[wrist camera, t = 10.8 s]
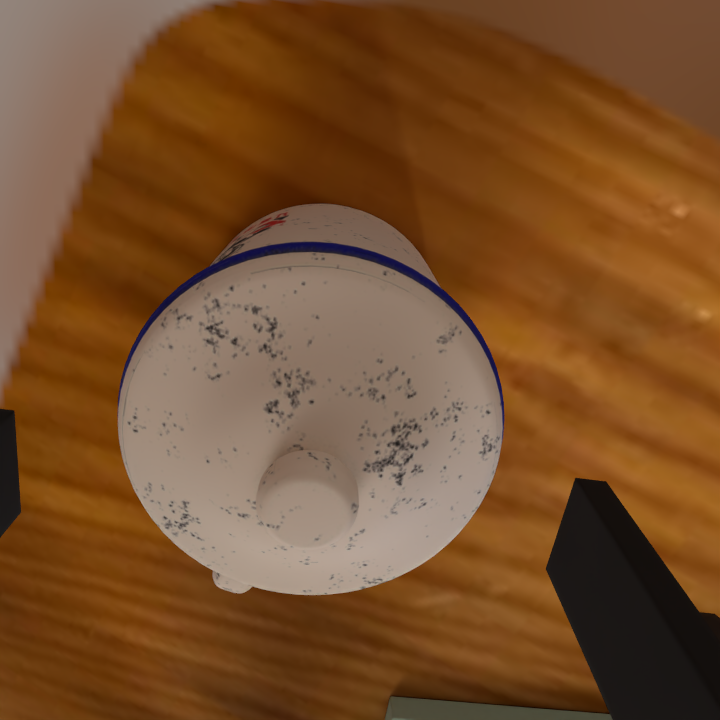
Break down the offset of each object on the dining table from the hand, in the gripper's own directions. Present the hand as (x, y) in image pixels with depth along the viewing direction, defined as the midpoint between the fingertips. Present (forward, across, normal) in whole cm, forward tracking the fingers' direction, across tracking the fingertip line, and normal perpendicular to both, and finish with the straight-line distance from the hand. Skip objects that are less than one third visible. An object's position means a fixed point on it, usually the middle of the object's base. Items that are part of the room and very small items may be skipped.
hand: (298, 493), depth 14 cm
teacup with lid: (+9, 0, 0) cm, 9 cm away
